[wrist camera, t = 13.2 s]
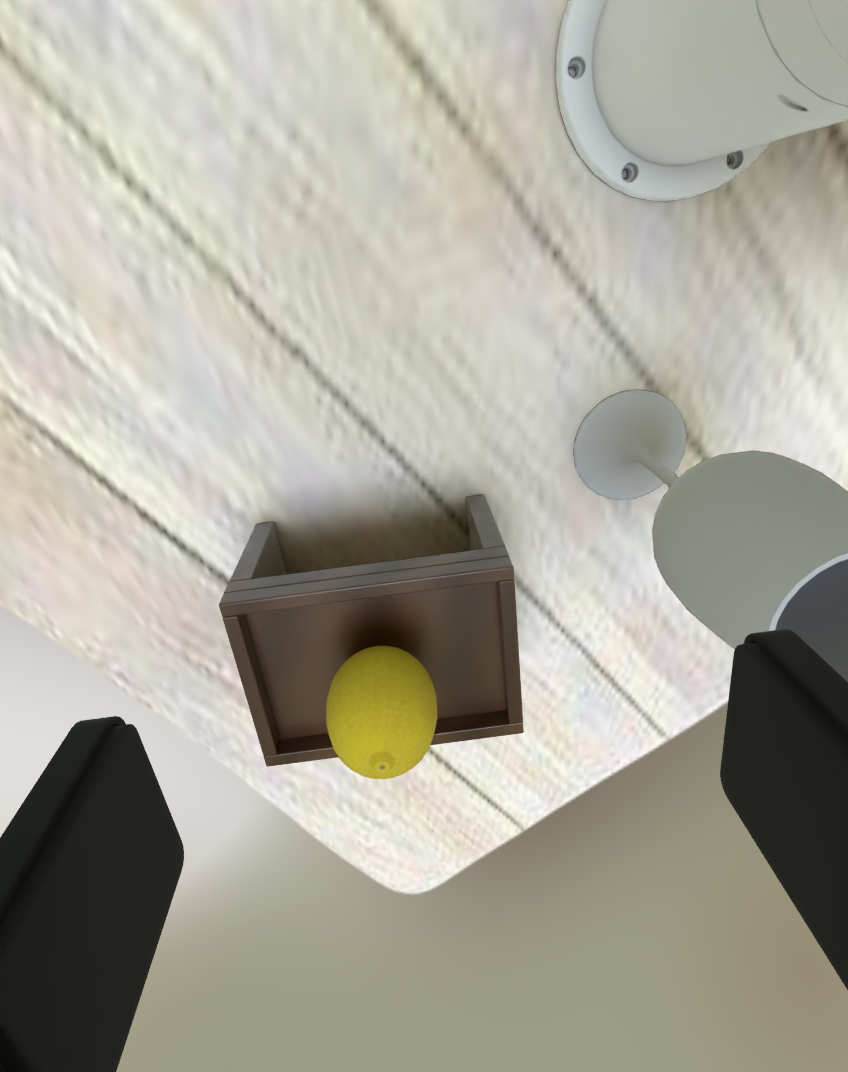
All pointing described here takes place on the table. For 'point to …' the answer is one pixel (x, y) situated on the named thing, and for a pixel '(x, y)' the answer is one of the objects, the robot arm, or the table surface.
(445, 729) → the shelf
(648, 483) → the wineglass
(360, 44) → the table surface
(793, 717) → the robot arm
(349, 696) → the lemon
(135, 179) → the table surface
